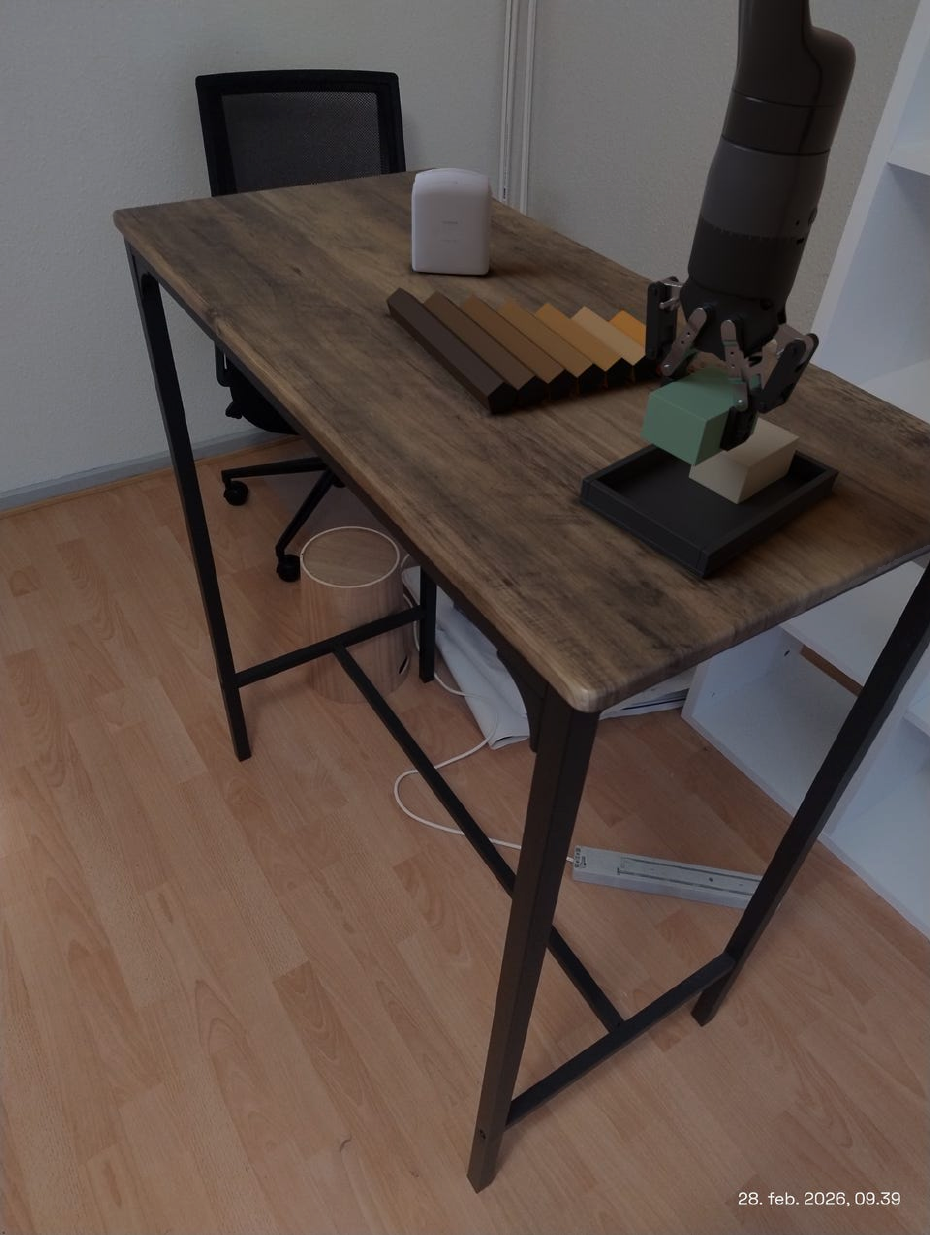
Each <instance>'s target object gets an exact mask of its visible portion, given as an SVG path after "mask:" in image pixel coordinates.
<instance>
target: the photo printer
mask: <svg viewBox="0 0 930 1235" xmlns="http://www.w3.org/2000/svg"><path fill="white" fill-rule="evenodd" d="M411 190H412V191H411V268H412V270H413V271H414V272H418V273H433V274H450V275H451V274H452V275H470V276H473V275H474V276H480V275H481V276H484V275H487V273H488V272H489V270H490V255H491V254H490V252H491V231H492V215H493V213H492V212H493V190H492V186H491V185H490V177H488V176H486V175H485V174H482V173H479V172H476V171H472V170H468V169H463V168H455V167H440V168H433V169H429V170H428V169H427V170H424V171H421V172H418V173H416V174H415V177H414V182H413V184H412V189H411Z"/></svg>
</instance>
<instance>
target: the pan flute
mask: <svg viewBox="0 0 930 1235" xmlns="http://www.w3.org/2000/svg"><path fill="white" fill-rule="evenodd" d="M385 302H386V305H387V307H388V311H389V313H390V317H391V318H392V319H393V320H394V321H395V322H396V323H397V324H398V325H400V327H401V328H403V329H404V331H405V332H407V333H408V334H409V335H410V336H411V338H413V339H414V340H415V341H416V342H417V343H418V344H419V345H420V346H421V347H422V348H423V349H424V351H426V352H427V353H428V354H429V355H430V356H431V357H433V358H434V360H435V361H437V363H438V364H439V365H440V366H441V367H443V368H444V370H445V371H446V372H447V373H449V375H450V376H452V377H453V378H454V379H455V380H456V381H457V382H458V383H459V384H460V385H461V386H462V387H463V388H464V389H465V390H466V391H467V392H468V393H469V394H470V395H471V396H472V397H473V398H474V399H475V400H476V401H477V402H478V403H479V404H480V405H481V406H482V407H484V409H485V410H486V411H488V412H489V414H491V415H495V414H499V413H504V412H509V411H511V409H512V407H513V404H514V402H515V403H516V404H517V405H519V407H521V408H526V407H530V406H535V405H540V404H541V403H542V400H543V398H544V396H545V397H546V398H547V399H548V400H550V401H551V402H554V401H559V400H562V399H567V398H570V396H571V394H572V391H573V390H574V391H575V392H576V393H577V394H578V395H579V396H580V395H581V396H582V395H585V394H590V393H594V392H598V390H599V388H600V385H601V384H602V386H604V387H605V388H607V389H612V388H616V387H620V386H625V385H626V382H627V381H628V379H630V380H631V381H632V382H633V383H638V382H644V381H648V380H652V378H653V376H654V374H657V375H658V376H659V377H661V378H662V374H663V373H662V371H661V366H660V365H659V364H658V363H657V362H656V360H655V359H654V360H649V359H648V358H647V357H646V355H645V339H646V324H644V323H642V322H641V321H640V320H638V319H637V318H635V317H634V316H632V315H631V314H629V313H628V312H627V311H625V310H623V309H622V310H620V311H619V312H618V313H617V314H616V315H615V316H614V317H613V318H611V319H610V320H609V321H607V320H605V318H603V317H602V316H600V315H598V314H596V312H594V311H592V310H591V309H589V308H588V307H587V306H586V305H584V306H583V307H582V308H580V309H579V310H578V311H577V312H576V313H575V314H574V315H573V316H571V318H570V317H568V316H567V315H565V314H564V313H563V312H562V311H561V310H559V309H557V308H556V307H555V306H554V305H552V304H551V303H549V302H546V303H544V304H543V305H542V306H541V307H540V308H539V309H538V310H537V311H535V313H534V314H532V313H531V312H530V311H528V310H527V309H526V308H524V307H523V306H522V305H520V304H519V303H517V302H516V301H514V300H513V298H508V299H507V301H505V303H503V304H502V305H501V306H500V307H499V308H497V309H496V310H495V309H494V308H492V307H491V306H490V305H489V304H488V303H487V302H485V301H483V300H482V299H480V298H479V297H478V296H476V295H475V294H472V295H471V296H470V297H468V299H467V300H465V301H464V302H463V303H462V304H461V305H460V306H458V305H457V304H456V303H454V301H452V300H451V299H450V298H448V297H446V296H445V295H443V294H442V293H441V292H439V291H438V290H435V291H434V292H433V293H432V294H431V295H430V296H429V297H428V298H427V299H425V301H424V302H423V303H422V302H421V301H420V300H419V299H418V298H417V297H416V296H414V295H413V294H411V293H410V292H409V291H407V290H405V289H403V288H402V287H401V286H399V287H398V288H396V290H395V291H393V293H391V294H390V296H389V297H387V298H386V299H385Z"/></svg>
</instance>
